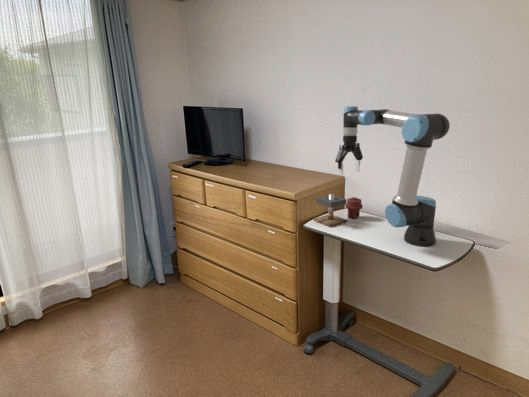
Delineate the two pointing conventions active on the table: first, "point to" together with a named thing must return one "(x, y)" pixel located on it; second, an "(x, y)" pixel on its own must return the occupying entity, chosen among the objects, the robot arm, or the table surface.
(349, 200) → the mechanical component
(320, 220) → the base
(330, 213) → the post
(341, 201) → the collar
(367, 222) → the table surface
